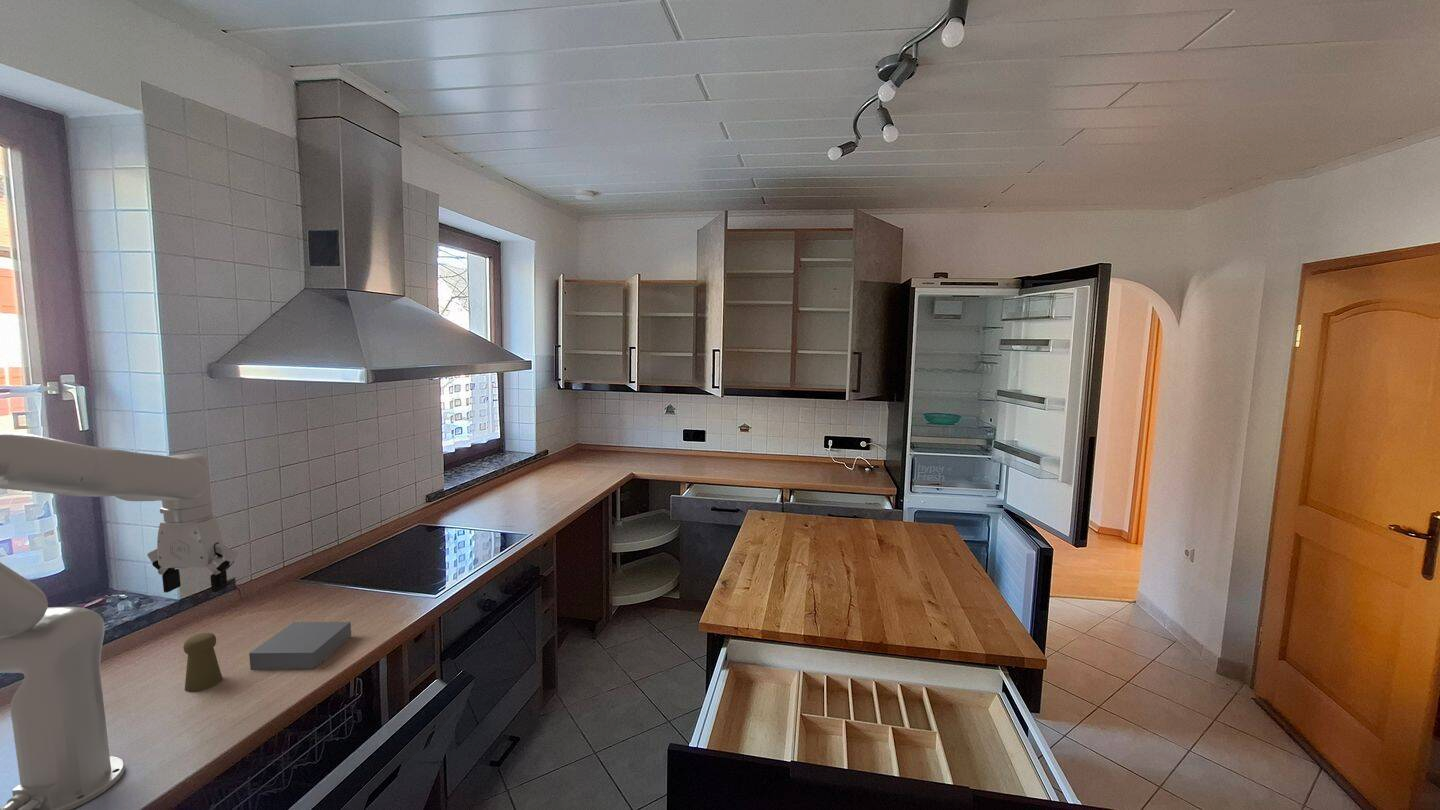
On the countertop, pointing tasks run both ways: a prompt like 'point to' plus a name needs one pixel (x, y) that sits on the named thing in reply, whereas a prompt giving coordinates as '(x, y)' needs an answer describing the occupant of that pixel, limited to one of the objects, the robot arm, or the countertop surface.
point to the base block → (300, 645)
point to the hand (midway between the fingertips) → (196, 589)
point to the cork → (201, 663)
